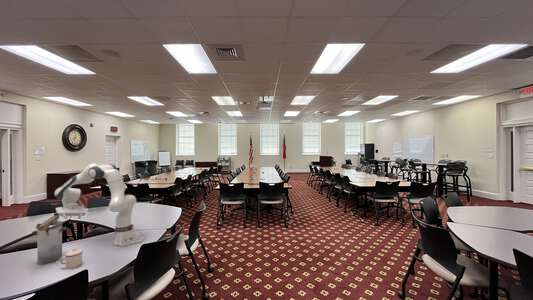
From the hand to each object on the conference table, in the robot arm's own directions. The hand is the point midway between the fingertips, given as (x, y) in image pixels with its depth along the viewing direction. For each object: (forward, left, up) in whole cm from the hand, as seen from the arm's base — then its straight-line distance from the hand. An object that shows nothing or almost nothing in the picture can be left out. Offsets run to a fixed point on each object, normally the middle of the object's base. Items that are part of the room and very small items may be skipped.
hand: (73, 218), depth 195 cm
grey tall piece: (+6, +30, -21) cm, 37 cm away
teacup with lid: (-10, +47, -21) cm, 52 cm away
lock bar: (+6, +29, +5) cm, 31 cm away
